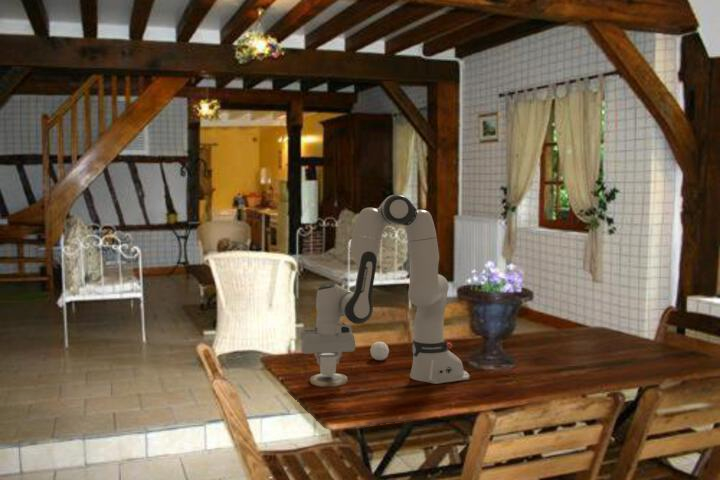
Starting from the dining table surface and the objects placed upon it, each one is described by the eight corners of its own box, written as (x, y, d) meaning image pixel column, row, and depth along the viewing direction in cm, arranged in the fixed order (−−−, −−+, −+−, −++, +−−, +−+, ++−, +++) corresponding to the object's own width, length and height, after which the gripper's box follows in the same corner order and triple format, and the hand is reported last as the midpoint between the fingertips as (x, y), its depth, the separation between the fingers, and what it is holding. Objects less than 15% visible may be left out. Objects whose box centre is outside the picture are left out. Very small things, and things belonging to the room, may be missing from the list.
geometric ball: (376, 367, 297) (365, 353, 295) (378, 355, 304) (368, 342, 302) (391, 359, 294) (380, 345, 292) (393, 348, 301) (382, 334, 299)
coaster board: (343, 375, 276) (343, 371, 276) (350, 385, 262) (350, 382, 262) (307, 377, 273) (307, 374, 273) (313, 388, 260) (313, 384, 259)
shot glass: (334, 376, 264) (334, 357, 263) (316, 374, 265) (316, 356, 265) (339, 371, 270) (339, 352, 270) (321, 369, 272) (321, 351, 271)
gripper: (301, 330, 261) (301, 367, 262) (356, 328, 265) (356, 364, 266) (299, 326, 267) (299, 363, 268) (353, 324, 271) (352, 360, 273)
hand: (328, 363), depth 267 cm, fingers closed on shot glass, 5 cm apart
